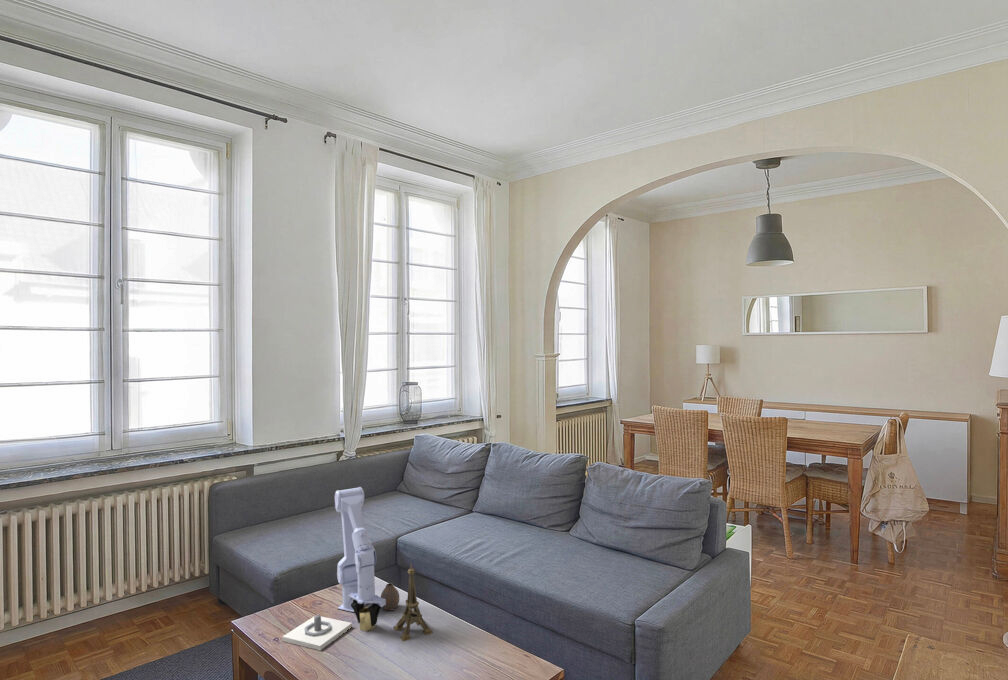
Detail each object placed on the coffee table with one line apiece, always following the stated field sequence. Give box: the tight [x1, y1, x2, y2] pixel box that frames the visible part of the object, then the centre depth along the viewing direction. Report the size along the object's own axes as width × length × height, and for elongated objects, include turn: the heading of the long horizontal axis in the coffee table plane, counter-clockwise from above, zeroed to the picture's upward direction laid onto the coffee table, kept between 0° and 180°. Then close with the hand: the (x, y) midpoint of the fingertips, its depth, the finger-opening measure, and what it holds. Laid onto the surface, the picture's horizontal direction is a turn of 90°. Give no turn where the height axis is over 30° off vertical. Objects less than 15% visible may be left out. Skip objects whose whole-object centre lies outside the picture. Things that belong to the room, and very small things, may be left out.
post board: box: [281, 614, 353, 651], centre depth 201 cm, size 16×16×6 cm
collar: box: [359, 606, 376, 632], centre depth 205 cm, size 5×5×6 cm
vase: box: [380, 582, 400, 611], centre depth 219 cm, size 7×7×9 cm
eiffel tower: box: [393, 564, 434, 642], centre depth 202 cm, size 11×11×25 cm
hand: (367, 623), depth 205 cm, fingers closed on collar, 5 cm apart
